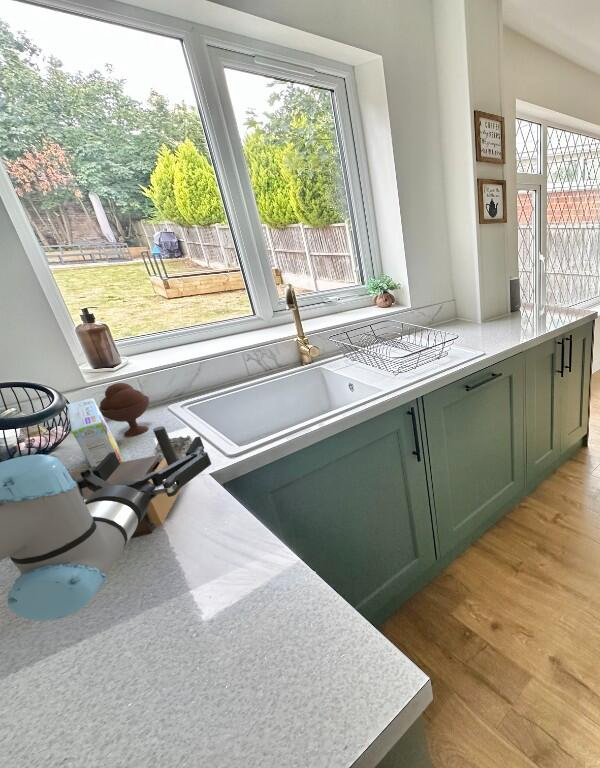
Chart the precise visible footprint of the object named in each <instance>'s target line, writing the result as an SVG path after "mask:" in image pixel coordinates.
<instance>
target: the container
mask: <svg viewBox="0 0 600 768" xmlns="http://www.w3.org/2000/svg"><path fill="white" fill-rule="evenodd" d="M152 431H153V434H154V436H155V438H156V441H157V443H159V445H160V448H161V450H162V452H163V455H164V458H163V460H162V461H161V463H160V464H159V465H158V467H157V468H156V469H154V470H152V471H151V472H158V471H160V470H162V469H163V468H165V467H167V466H169V465H171V464H173V463H175V462H177V461H178V459H177V456H176V454H175V451H174V449H173V446H172V444H171V442H170V439H169V434H168V431H167V430H166V427H165V426H163V425H162V426H157V427H155V428H153V430H152ZM148 481H149V482H151V483H152V484H153V481H152V479H150V480H148ZM153 485H154V484H153ZM182 488H183V487H181V488H180V490H179V491H178V492H177V494H176V495H174V496H171V497H168V496H167V493H163V494H157V496H156V497H154V498H153V499H152V500H151V501H150V502H149V506H148V510H147V512H146V515H147V517H148V519H149V521H150V523H151V524H152V523H154V525H155V526H156V527H157V526H161V525H163V523H164V522H165V520H166V518H167V516H168V515H169V512H170V511H171V509H172V506H173V505H174V504H175V501H176V499H177V498H178V496H179V494H180V492H181V490H182Z"/></svg>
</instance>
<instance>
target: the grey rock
mask: <svg viewBox="0 0 600 768" xmlns="http://www.w3.org/2000/svg"><path fill="white" fill-rule="evenodd" d="M169 439H170V442H171V444H172V446H173V449H174V451H175V454H176V456H177V459H178V460H180V459H182V458H184V457H186V454H185V453H186V452H187V450H188V449H189V447H190V445H191V444H192V437H191V435H186V437H184V436H182V435H181V436H179V437H172V438H169ZM156 455H159V457H160V460H161V461H162V460H163V458H164V455H163V452H162V450H161V448H160V445H159V443H158V442H157V444H156V445H155V447H154V451H153V453H152V455H151V456H156Z"/></svg>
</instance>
